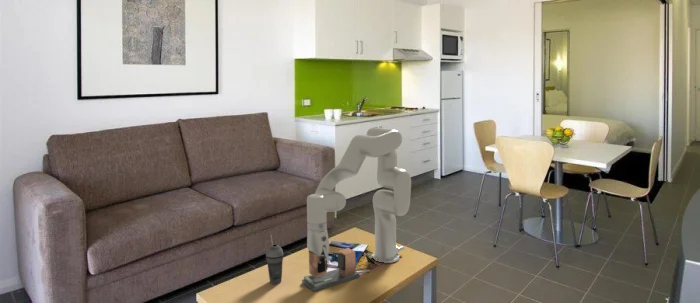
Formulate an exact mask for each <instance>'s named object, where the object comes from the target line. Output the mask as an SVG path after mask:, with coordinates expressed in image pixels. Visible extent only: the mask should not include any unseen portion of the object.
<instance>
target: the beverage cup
mask: <svg viewBox="0 0 700 303" xmlns="http://www.w3.org/2000/svg"><path fill="white" fill-rule="evenodd" d="M269 235H270V240H271V245H269V247H268V248H266V252H265V259H266V262H267V264H266V265H267V272H268V278H269V282H270V284H271V285H279V284H281V283H282V278H283V264H284V263H283V262H284V261H283V260H284V255H285V253H284V251H283V248H282V247H281V246H280V245H278V244H274V242H273V237H272V236H273V235H272V234H269Z"/></svg>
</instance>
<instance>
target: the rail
mask: <svg viewBox="0 0 700 303" xmlns="http://www.w3.org/2000/svg"><path fill="white" fill-rule="evenodd" d="M357 278H360V273H359V272H357V270H356V251H355V250H353V249H351V248H349V247H347V248H343V249H340V250H338V253H337V268H336V269H333V270H330V271H327V274H326V275H322V276H319V277H314V276H313V275H311V274H308V275H305V276H303V279H301V283H302V285H304V286H305V287H306V288H308V289H309V290H310V291H312V292H317V291H320V290H322V289H326V288H330V287H331V286H332V287H333V286H334V285H340V284H341V283H344V282H345V283H346V282H347V281H351V280H353V279H357Z"/></svg>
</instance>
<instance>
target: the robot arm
mask: <svg viewBox="0 0 700 303" xmlns="http://www.w3.org/2000/svg"><path fill="white" fill-rule="evenodd" d="M402 142H403V136H402V133H401V132H400V131H399V130H398V129H394V128H393V129H392V128H385V127H370V128H368V129H367V131H366V135H365V134H357V135H354V137H353V138H352V139H351V140H350V142H349V144H348V145H347V147H346V150H345V152H344V153H343V155H342V157H341V159H340V161H339V163H338V164H337V165H336V166H335V167H333V168H332V169H331V170H330V171H328V173H326V174H325V175H324V176H323V177H322V178H321V180H320V182H319V184H318V185H317V188H316V189H315V192H314V193H312V194H310V195H307V198H306V215H307V216H306V218H307V220H306V222H307V224H306V225H307V227H306V228H307V231H306V232H307V235H306V236H307V237H306V248H307V250H308V253H309V252H310V251H311V252H312V253H314V254H315V255H317V256H318V261H319V263H318V273H321V272H324V271H325V262H326V260H327V261H328V259H329V258H330V256H329V254H330V241H329V233H328V228H327V213H328V212H329V213H330V212H339V211H341V210H343V209H344V208H345V206H346V203H347V199H346V197H345V195H344V194H342V193H340V192H339V191H335V190H334V188H335V187H336V186H337V185H338V184H339V183H340V182H342V181H344V180H346V179H350V178H352V177H355V176H357V175H358V173H359V171H360V170H361V167H362V165H363V163H364V161H365V159H366V158H368V157H370V158H377V165H376V166H377V169H376V170H377V172H376V180H377V184H378V185H379V186H380V187H382V188H386V189H379V190H376V192H374V194H373V197H372V208H373V211H374V252H372V254H371V257H372V256H373V258H374V259H375V258H377V259H376V260H377V261H380V262H384V263H383V264H391V263H395V262H396V263H397V261H399V260H400V254H399V252H401V251H404V250H405V248H404V246H401V245H400V246H398V245H397V219H396V216H398V217H402V216H403V217H404V216H405V215H406V214H407V213H408V212H409V209H410V205H411V195H412V194H411V193H412V192H411V191H412V178H411V174H410V173H409V172H408V171H407V170H406V169H404V168H400V167H398V155H397V151H396V150H397V149H399V147H400V146H401V144H402ZM388 189H389V190H388ZM321 253H323V254H322V255H321ZM322 256H323V258H322V259H321V257H322Z"/></svg>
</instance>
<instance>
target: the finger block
mask: <svg viewBox="0 0 700 303" xmlns="http://www.w3.org/2000/svg"><path fill="white" fill-rule="evenodd" d="M322 254H323V253H321V255H322ZM322 258H323V256H322V257H321V259H322ZM318 263H319V261H318V256H317V255H315V254H314V253H312V252H311V251H310V252H309V251H308V271H309V272H308V273H309V275H313V276H314V277H319V276H322V275H326V274H327V272H328V259H327V260H326V262H325V271H324V272H321V273H318Z"/></svg>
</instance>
